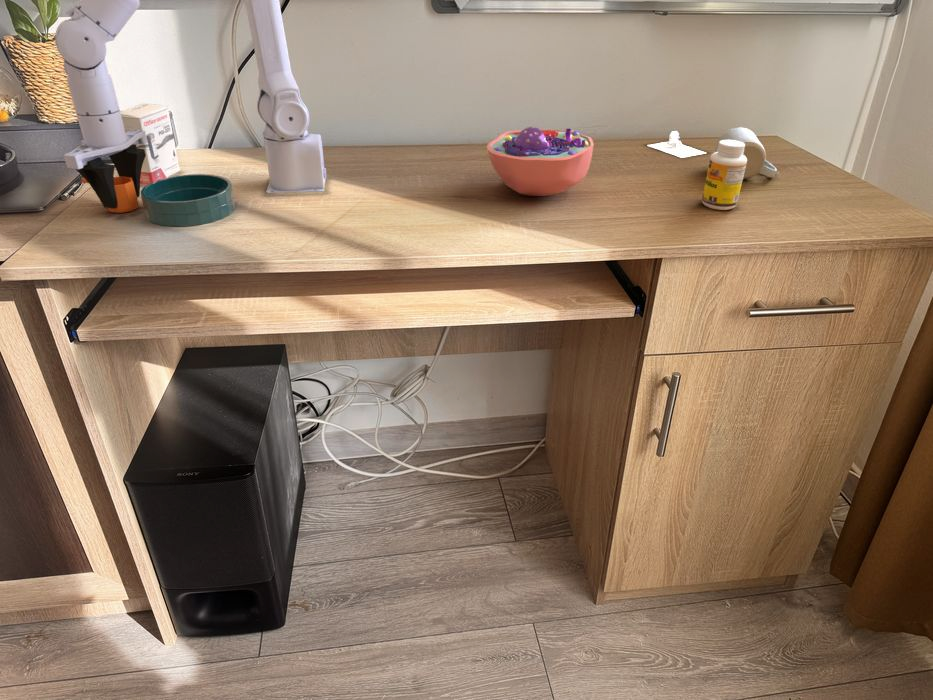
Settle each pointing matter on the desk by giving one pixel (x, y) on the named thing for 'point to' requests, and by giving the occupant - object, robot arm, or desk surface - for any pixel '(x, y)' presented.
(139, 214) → the desk surface
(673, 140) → the adhesive hook
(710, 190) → the supplement bottle
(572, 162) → the cell model
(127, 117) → the ink box
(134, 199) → the scoop
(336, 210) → the desk surface
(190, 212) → the bowl
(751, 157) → the ceramic mug
